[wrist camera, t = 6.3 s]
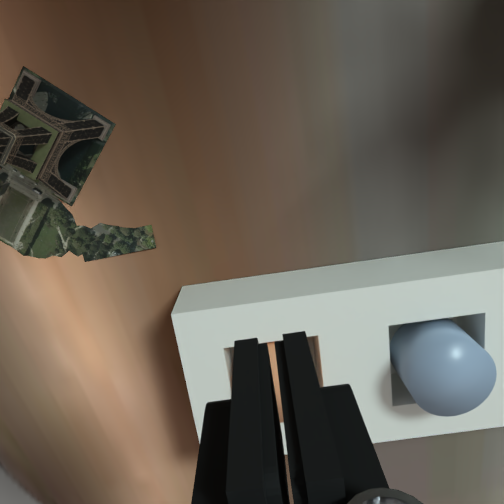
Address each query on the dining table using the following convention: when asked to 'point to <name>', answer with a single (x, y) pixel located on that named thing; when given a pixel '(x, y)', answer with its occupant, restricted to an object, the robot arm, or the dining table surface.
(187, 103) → the dining table surface
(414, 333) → the slate blue button
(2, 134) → the eiffel tower figurine
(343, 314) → the white button panel
